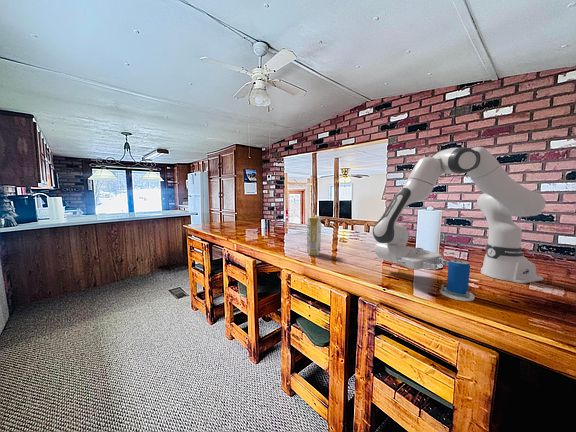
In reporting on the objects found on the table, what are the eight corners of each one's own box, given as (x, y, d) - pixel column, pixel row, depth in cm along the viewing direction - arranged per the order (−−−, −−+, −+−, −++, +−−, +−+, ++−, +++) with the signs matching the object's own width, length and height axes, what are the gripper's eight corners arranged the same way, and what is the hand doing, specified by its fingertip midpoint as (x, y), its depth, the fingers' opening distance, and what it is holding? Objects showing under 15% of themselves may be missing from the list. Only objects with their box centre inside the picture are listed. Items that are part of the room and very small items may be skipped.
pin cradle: (458, 288, 94) (458, 280, 94) (482, 300, 84) (482, 291, 83) (433, 289, 93) (434, 281, 92) (455, 301, 82) (455, 293, 82)
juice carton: (320, 256, 140) (320, 216, 138) (306, 255, 141) (307, 215, 139) (320, 252, 149) (321, 214, 147) (307, 251, 150) (308, 214, 148)
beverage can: (459, 289, 91) (461, 258, 90) (472, 296, 85) (475, 263, 84) (442, 289, 91) (444, 258, 90) (454, 296, 85) (456, 263, 84)
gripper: (394, 252, 98) (428, 261, 86) (422, 247, 108) (455, 254, 97) (393, 267, 99) (427, 277, 87) (421, 260, 109) (454, 269, 97)
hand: (442, 265), depth 92 cm, fingers open, 8 cm apart
